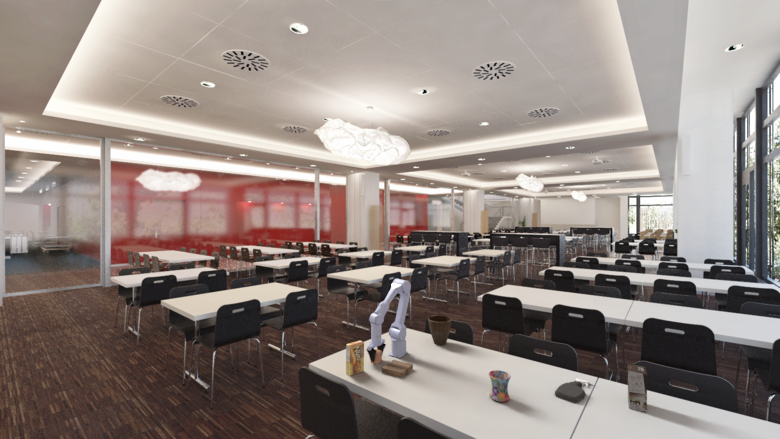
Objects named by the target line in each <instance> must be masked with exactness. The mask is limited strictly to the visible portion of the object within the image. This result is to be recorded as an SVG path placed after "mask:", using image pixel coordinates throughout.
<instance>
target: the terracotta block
mask: <svg viewBox="0 0 780 439" xmlns="http://www.w3.org/2000/svg"><path fill="white" fill-rule="evenodd" d="M374 350H377V348H374ZM381 362H383V354H382V351H381V350H377V351H376V354H375V361H374V362H371V364H375V363H376V365H378V364H380V363H381Z"/></svg>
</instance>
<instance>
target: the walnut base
mask: <svg viewBox="0 0 780 439" xmlns="http://www.w3.org/2000/svg"><path fill="white" fill-rule="evenodd" d="M412 370H414V364H412V363H407V362H404V361H399V360H396V359H393V360H391V361H389V362H387V364H385V365H384V366H382V367H381V373H382V374H385V375H389V376H393V377H396V378H400V379H402V378H404V377H405V376H406V375H408V374H409V373H410V372H411V371H412Z"/></svg>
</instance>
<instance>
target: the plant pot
mask: <svg viewBox="0 0 780 439" xmlns="http://www.w3.org/2000/svg"><path fill="white" fill-rule="evenodd" d="M427 321H428V326H429V331H430V335H431V338H432V341H433V343H434V344H435V345H436V346H445V345H446V344H447V342H448V338H449V336H450V332H451V328H452V327H451V326H452V317H449V316H447V315H432V316H431V315H430V316H429V317H428V318H427Z"/></svg>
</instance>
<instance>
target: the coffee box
mask: <svg viewBox="0 0 780 439" xmlns="http://www.w3.org/2000/svg"><path fill="white" fill-rule="evenodd" d="M627 404H628V409H630V410H633V409H634V410H633V411H638V410H639V411H638V412H641V411H645V412H646V413H648V412H647V411H648V409H647V407H648V372H647V369H646V367H645V366H642V365H638V364H630V363H627ZM645 412H644V413H645Z"/></svg>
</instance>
